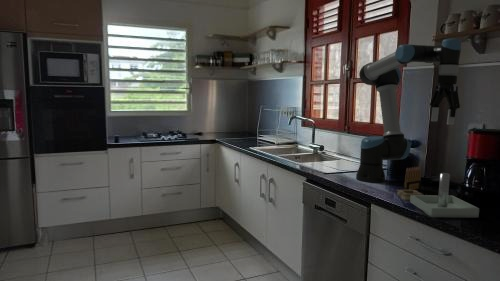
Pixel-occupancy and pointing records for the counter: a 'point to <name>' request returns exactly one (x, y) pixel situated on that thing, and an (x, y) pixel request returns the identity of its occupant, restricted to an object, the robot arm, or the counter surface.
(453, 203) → the tray
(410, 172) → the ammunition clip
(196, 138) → the counter surface
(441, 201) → the lock pin
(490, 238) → the counter surface
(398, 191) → the pin dock
